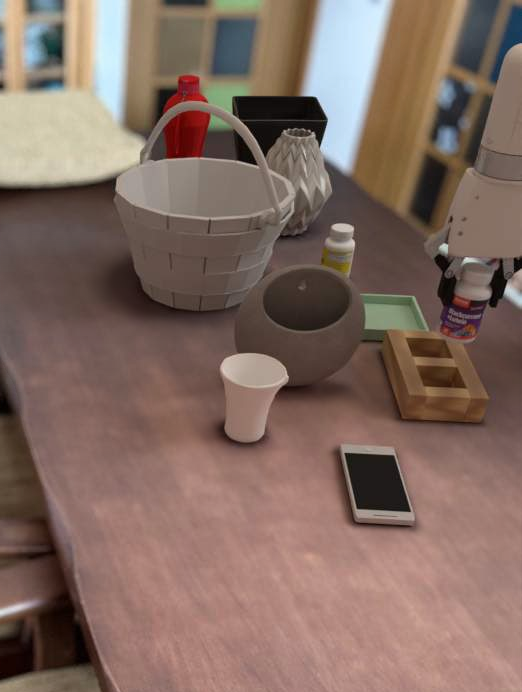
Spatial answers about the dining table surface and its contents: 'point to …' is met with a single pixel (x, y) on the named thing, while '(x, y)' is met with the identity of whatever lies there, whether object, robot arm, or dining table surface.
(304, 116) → the flower pot
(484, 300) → the pill bottle
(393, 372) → the frame
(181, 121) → the water bottle
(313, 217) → the vase
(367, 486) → the smartphone
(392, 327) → the tray
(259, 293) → the planter
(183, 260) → the basket
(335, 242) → the supplement bottle
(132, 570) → the dining table surface
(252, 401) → the cup
